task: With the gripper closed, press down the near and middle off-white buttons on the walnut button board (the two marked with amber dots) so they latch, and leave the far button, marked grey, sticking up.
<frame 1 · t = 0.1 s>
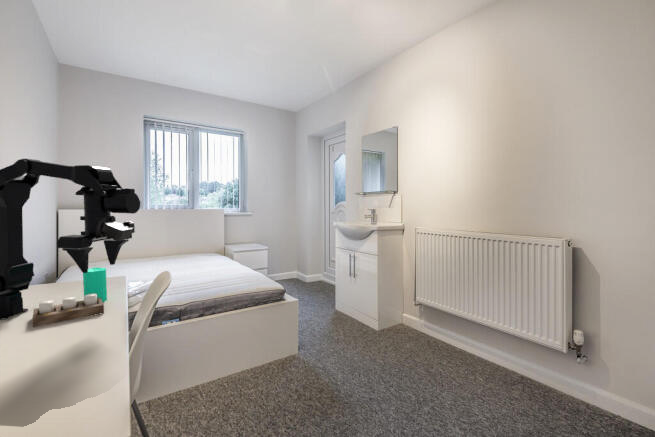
hand: (99, 268, 83), 15 cm above the table, tool pointing down, fingers open, 9 cm apart
button near: (46, 308, 83), point 3 cm above the table, slide at 0.0 cm
button far: (90, 300, 89), point 3 cm above the table, slide at 0.0 cm
button middle: (69, 304, 86), point 3 cm above the table, slide at 0.0 cm
candle: (95, 301, 98), on the table
button board: (70, 315, 86), on the table
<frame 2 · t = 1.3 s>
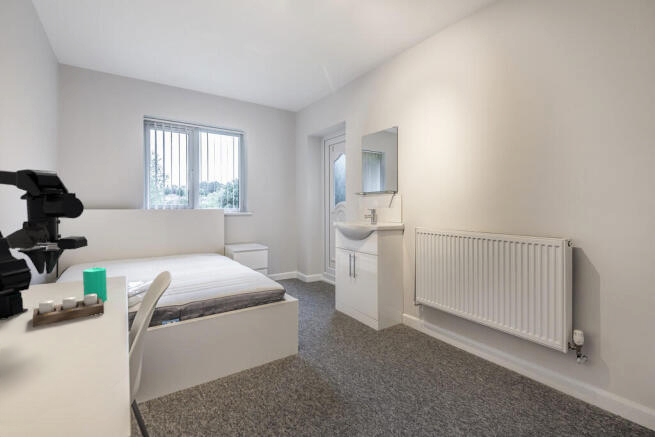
hand: (45, 273, 82), 13 cm above the table, tool pointing down, fingers closed
nothing on the table moved.
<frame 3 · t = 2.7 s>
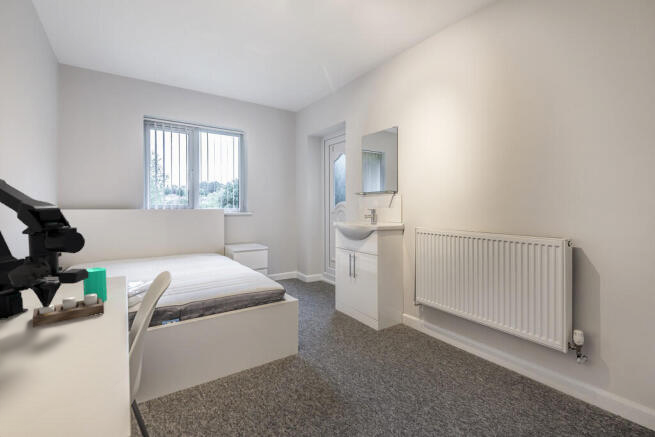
hand: (46, 306, 83), 4 cm above the table, tool pointing down, fingers closed, pressing on button near
button near: (46, 312, 83), point 2 cm above the table, slide at 1.2 cm, touching gripper
everything else where it was.
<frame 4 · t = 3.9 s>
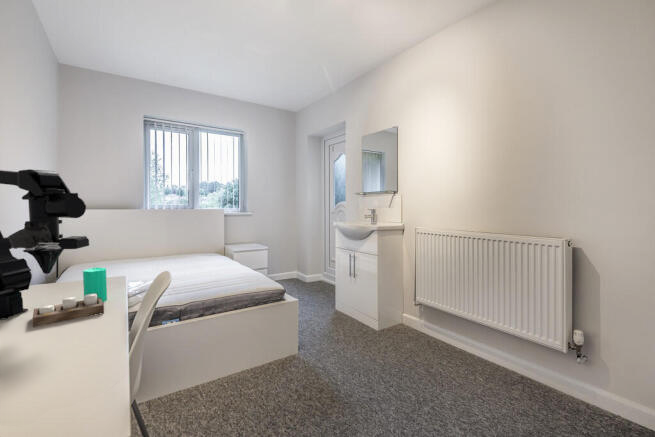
hand: (47, 273, 82), 13 cm above the table, tool pointing down, fingers closed
button near: (47, 312, 83), point 2 cm above the table, slide at 1.3 cm
everything else where it was.
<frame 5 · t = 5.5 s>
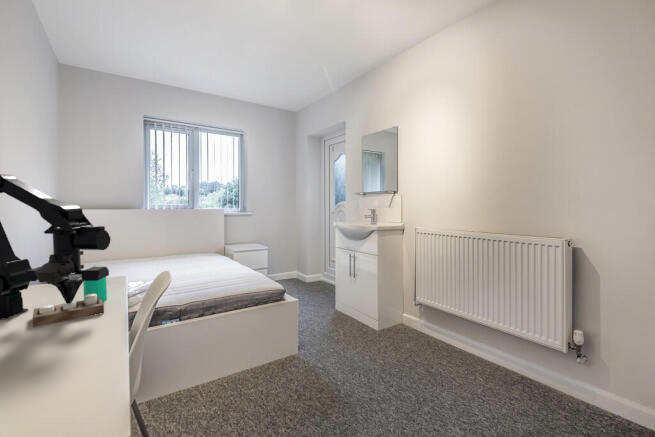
hand: (69, 303, 86), 4 cm above the table, tool pointing down, fingers closed, pressing on button middle
button middle: (69, 308, 86), point 2 cm above the table, slide at 1.2 cm, touching gripper
everything else where it was.
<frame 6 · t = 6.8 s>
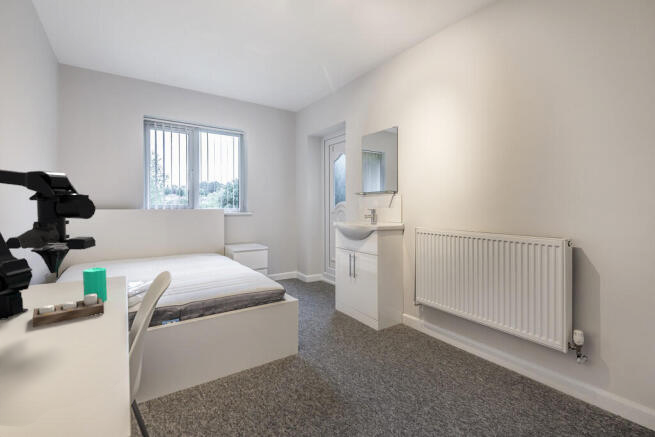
hand: (53, 272, 84), 13 cm above the table, tool pointing down, fingers closed
button middle: (69, 308, 86), point 2 cm above the table, slide at 1.3 cm
everything else where it was.
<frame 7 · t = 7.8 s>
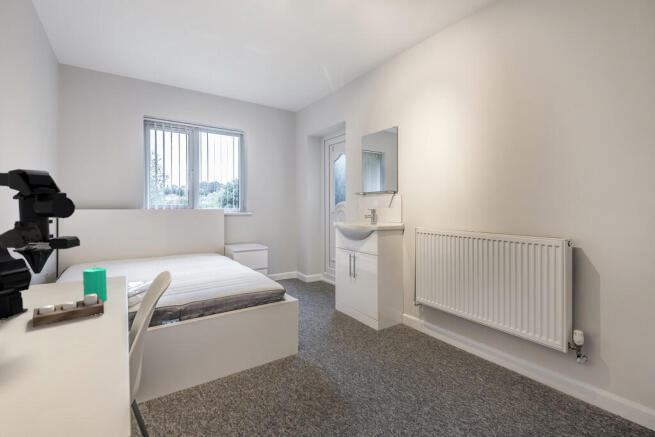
hand: (37, 273, 82), 13 cm above the table, tool pointing down, fingers closed
nothing on the table moved.
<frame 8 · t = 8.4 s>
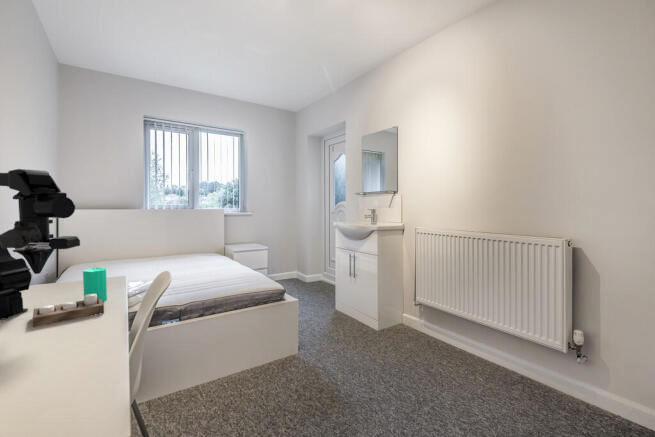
hand: (37, 273, 82), 13 cm above the table, tool pointing down, fingers closed
nothing on the table moved.
at the end: button near slide at 1.3 cm; button middle slide at 1.3 cm; button far slide at 0.0 cm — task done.
